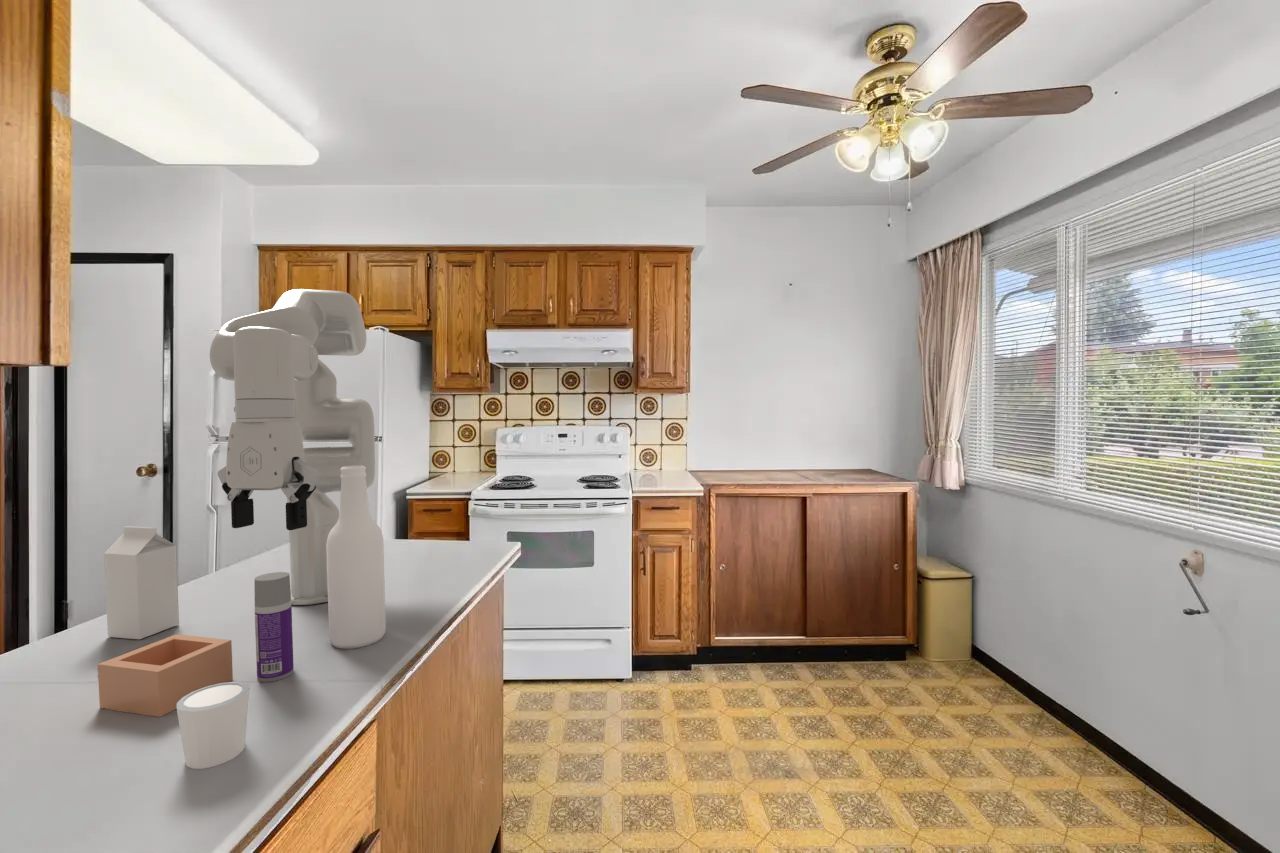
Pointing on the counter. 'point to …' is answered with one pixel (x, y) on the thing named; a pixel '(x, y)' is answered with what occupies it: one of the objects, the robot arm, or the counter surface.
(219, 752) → the white cup
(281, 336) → the robot arm
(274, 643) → the container
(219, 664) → the tan open box
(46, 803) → the counter surface
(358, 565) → the alcohol
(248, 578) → the counter surface
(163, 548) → the milk carton
